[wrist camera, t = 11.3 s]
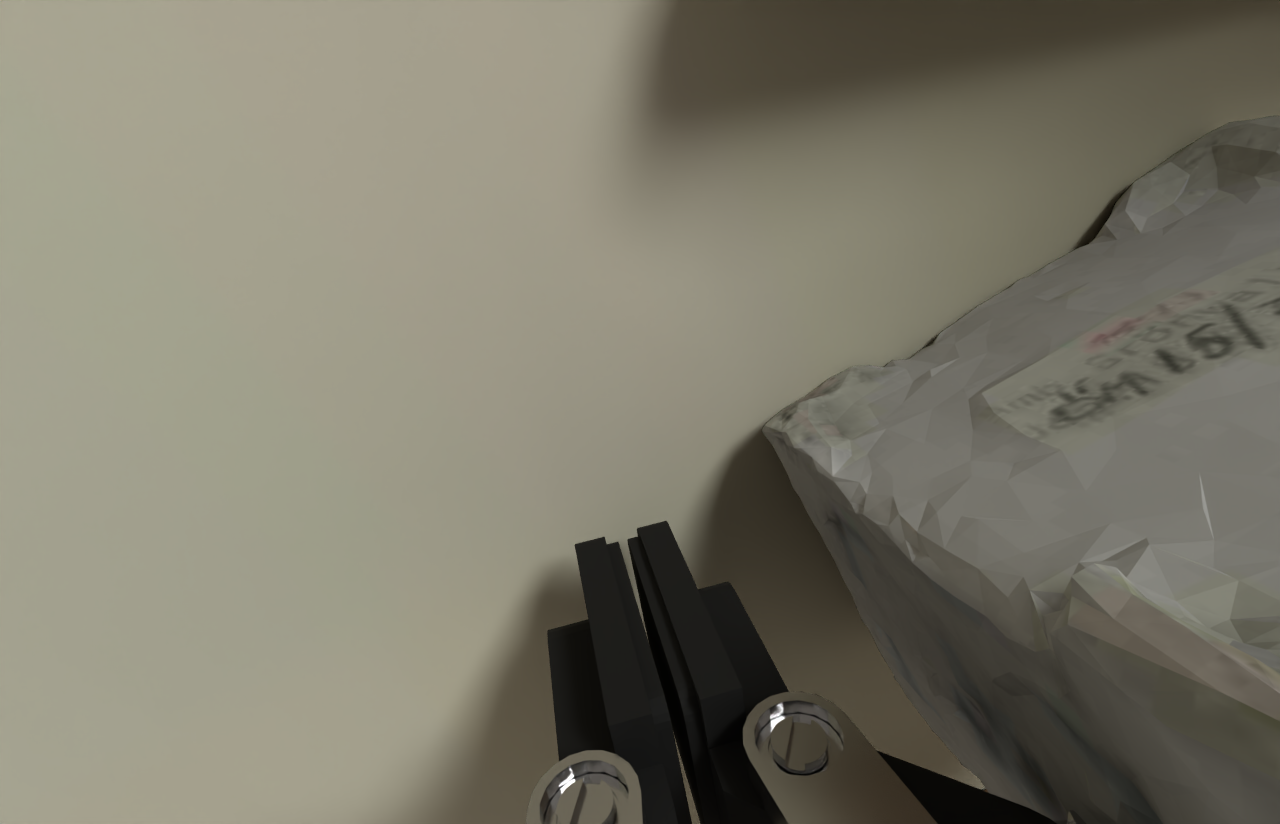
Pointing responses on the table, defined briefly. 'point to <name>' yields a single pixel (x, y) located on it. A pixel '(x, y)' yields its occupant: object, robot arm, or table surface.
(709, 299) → the table surface
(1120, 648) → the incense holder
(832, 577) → the table surface
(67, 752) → the table surface
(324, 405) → the table surface
